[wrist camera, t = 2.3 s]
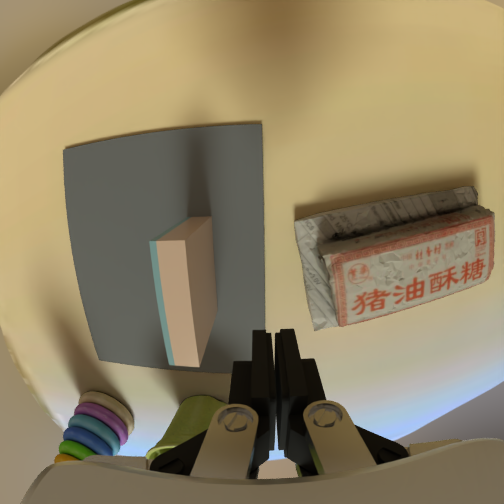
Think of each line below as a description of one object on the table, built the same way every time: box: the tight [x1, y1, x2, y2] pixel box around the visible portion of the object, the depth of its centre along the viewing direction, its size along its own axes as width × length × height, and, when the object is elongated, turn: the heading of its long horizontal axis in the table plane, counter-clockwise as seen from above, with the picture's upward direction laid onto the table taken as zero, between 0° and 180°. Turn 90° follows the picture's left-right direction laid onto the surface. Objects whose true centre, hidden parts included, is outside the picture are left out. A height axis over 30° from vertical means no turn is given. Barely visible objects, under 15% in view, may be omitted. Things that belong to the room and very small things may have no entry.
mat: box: [63, 124, 265, 373], centre depth 24 cm, size 18×22×1 cm
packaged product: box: [294, 186, 495, 331], centre depth 21 cm, size 18×5×10 cm
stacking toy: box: [54, 391, 134, 463], centre depth 21 cm, size 8×8×19 cm
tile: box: [149, 216, 218, 367], centre depth 20 cm, size 2×8×8 cm, turn 2°
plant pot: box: [145, 395, 227, 459], centre depth 24 cm, size 9×9×9 cm
